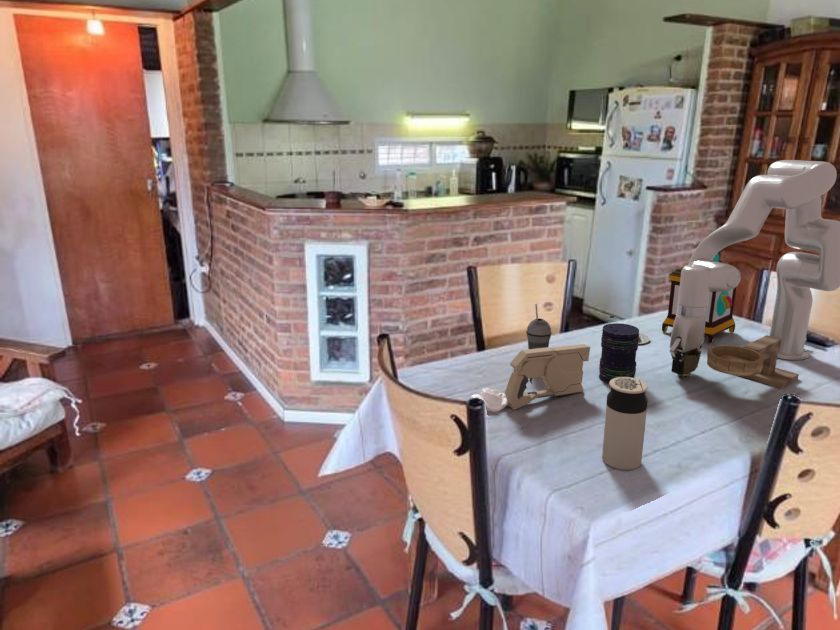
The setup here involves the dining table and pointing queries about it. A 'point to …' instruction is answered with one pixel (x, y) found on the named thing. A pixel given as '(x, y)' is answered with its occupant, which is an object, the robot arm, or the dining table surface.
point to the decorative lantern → (717, 307)
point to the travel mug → (625, 423)
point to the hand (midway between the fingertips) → (684, 369)
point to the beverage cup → (538, 333)
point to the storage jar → (618, 351)
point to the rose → (492, 399)
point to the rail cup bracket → (752, 361)
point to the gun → (546, 372)
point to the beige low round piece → (644, 337)
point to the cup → (690, 362)
